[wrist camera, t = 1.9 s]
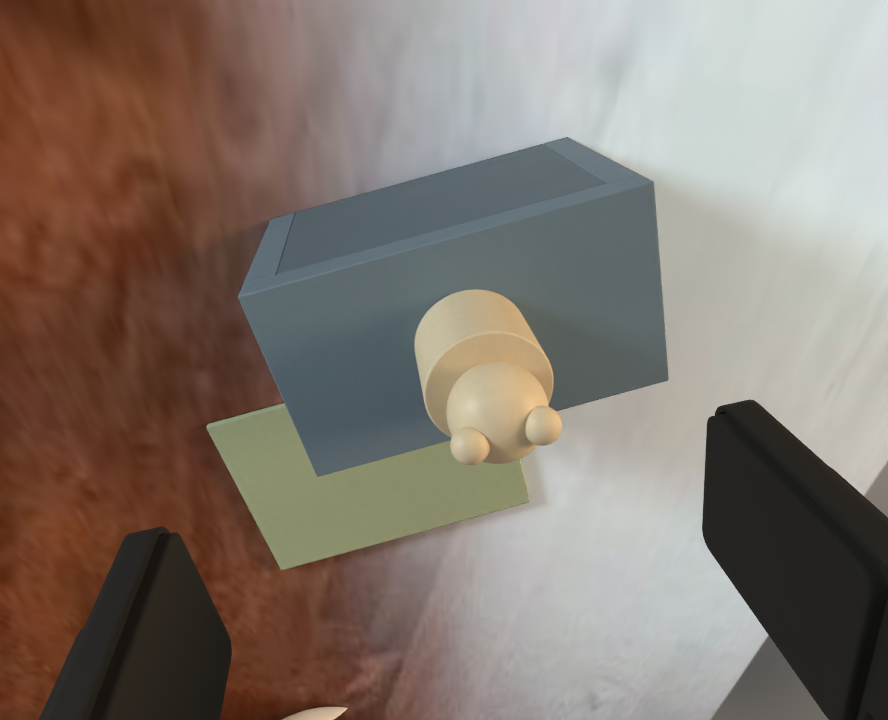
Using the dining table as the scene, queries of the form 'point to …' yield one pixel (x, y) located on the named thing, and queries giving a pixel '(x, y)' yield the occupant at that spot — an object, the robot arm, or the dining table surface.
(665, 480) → the dining table surface
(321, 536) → the mat
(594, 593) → the dining table surface
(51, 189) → the dining table surface
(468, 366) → the bear
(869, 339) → the dining table surface
